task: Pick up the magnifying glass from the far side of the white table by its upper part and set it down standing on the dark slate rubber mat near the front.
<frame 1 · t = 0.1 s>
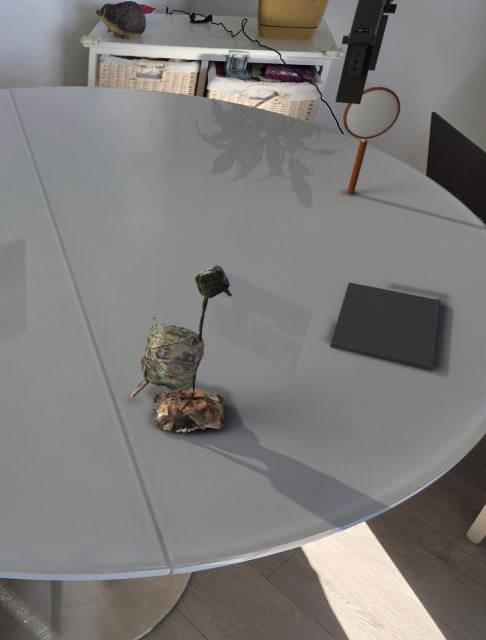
hand: (356, 85, 80), 29 cm above the table, tool pointing down, fingers open, 13 cm apart
mat: (386, 324, 88), on the table
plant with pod: (178, 412, 78), on the table
magnifying glass: (348, 200, 117), on the table
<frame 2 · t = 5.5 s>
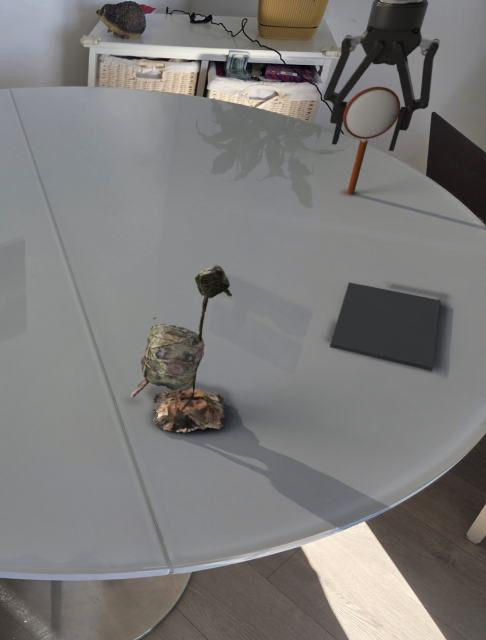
hand: (363, 144, 110), 10 cm above the table, tool pointing down, fingers closed on magnifying glass, 8 cm apart
magnifying glass: (348, 200, 117), on the table, touching gripper
everything else where it was.
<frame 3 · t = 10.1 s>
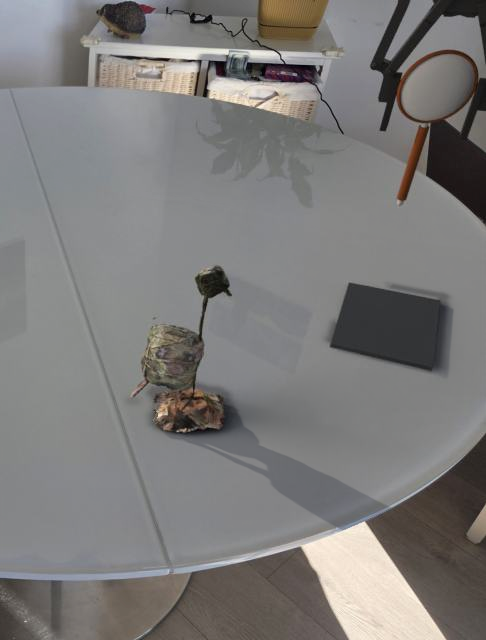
hand: (422, 131, 81), 23 cm above the table, tool pointing down, fingers closed on magnifying glass, 8 cm apart
magnifying glass: (398, 206, 87), point 13 cm above the table, touching gripper
everything else where it was.
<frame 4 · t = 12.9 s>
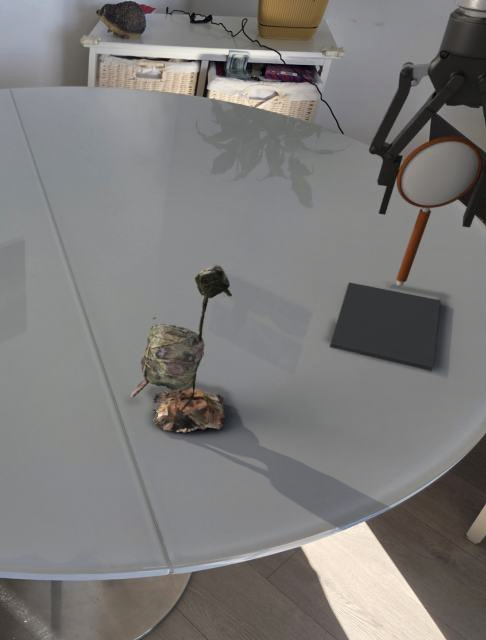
hand: (423, 215, 77), 17 cm above the table, tool pointing down, fingers closed on magnifying glass, 8 cm apart
magnifying glass: (398, 287, 84), point 6 cm above the table, touching gripper
everything else where it was.
when the fingers open (11 cm above the table, at t = 14.9 s): magnifying glass stays where it is, resting on mat.
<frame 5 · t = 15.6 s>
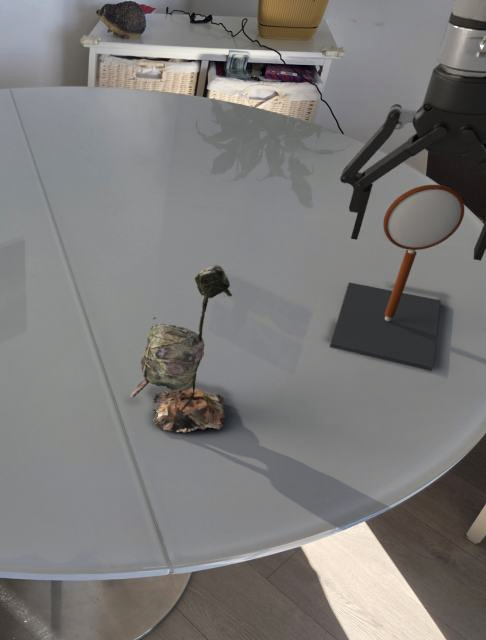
hand: (414, 244, 80), 13 cm above the table, tool pointing down, fingers open, 13 cm apart
magnifying glass: (386, 322, 88), resting on mat
everything else where it was.
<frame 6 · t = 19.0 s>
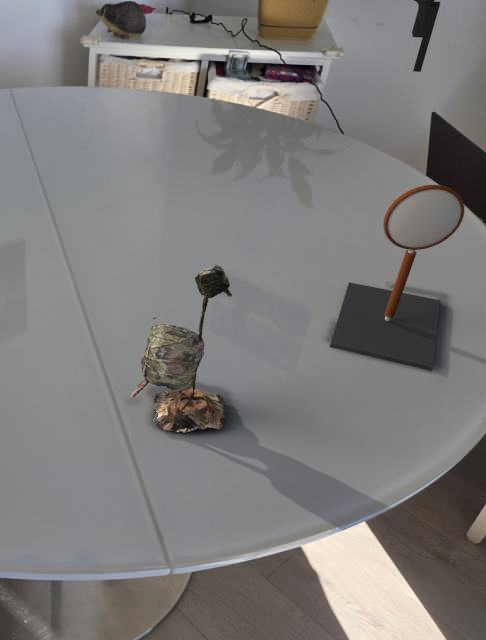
nothing on the table moved.
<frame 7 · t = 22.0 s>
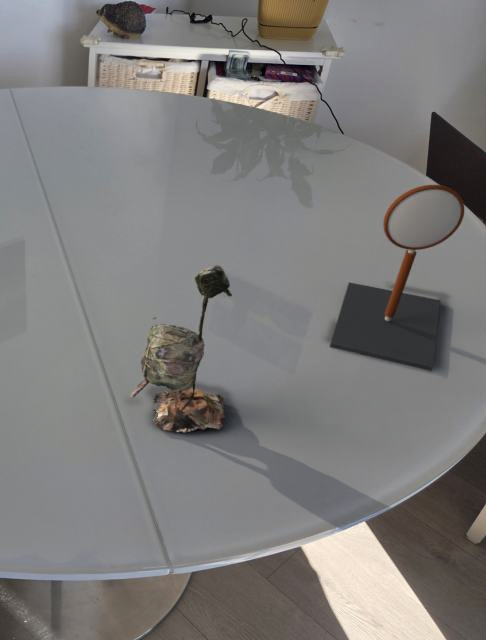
nothing on the table moved.
at the end: magnifying glass inside the target area on the mat (0.0 cm from its centre), point 0.4 cm above the mat's base; magnifying glass tilted 0°; the gripper is holding nothing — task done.
